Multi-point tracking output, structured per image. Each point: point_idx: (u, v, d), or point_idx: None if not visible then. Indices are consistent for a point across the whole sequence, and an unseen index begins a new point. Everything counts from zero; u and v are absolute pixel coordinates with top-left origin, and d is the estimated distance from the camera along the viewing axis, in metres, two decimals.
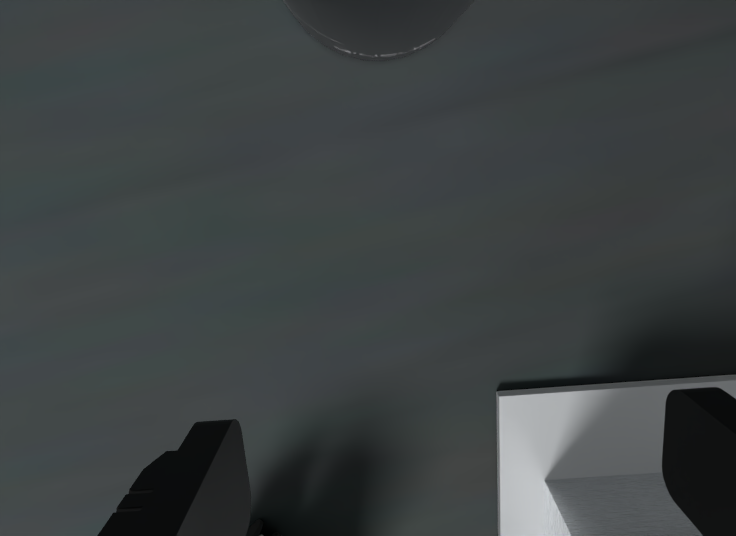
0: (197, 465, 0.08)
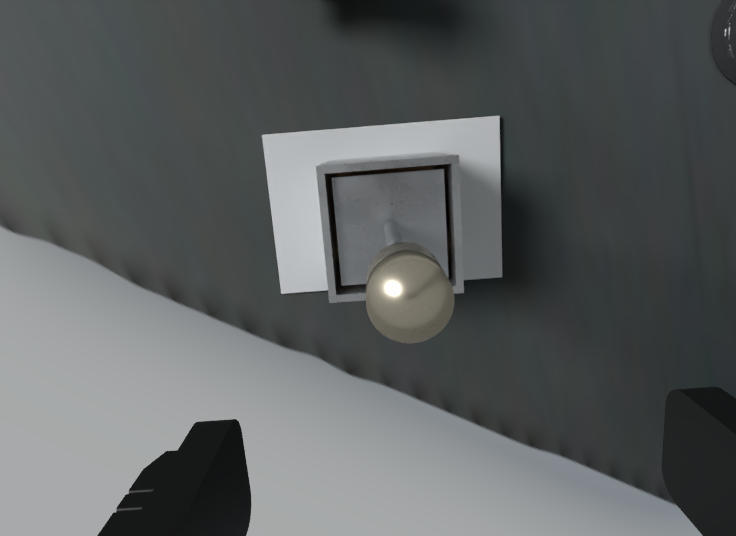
0: (197, 465, 0.08)
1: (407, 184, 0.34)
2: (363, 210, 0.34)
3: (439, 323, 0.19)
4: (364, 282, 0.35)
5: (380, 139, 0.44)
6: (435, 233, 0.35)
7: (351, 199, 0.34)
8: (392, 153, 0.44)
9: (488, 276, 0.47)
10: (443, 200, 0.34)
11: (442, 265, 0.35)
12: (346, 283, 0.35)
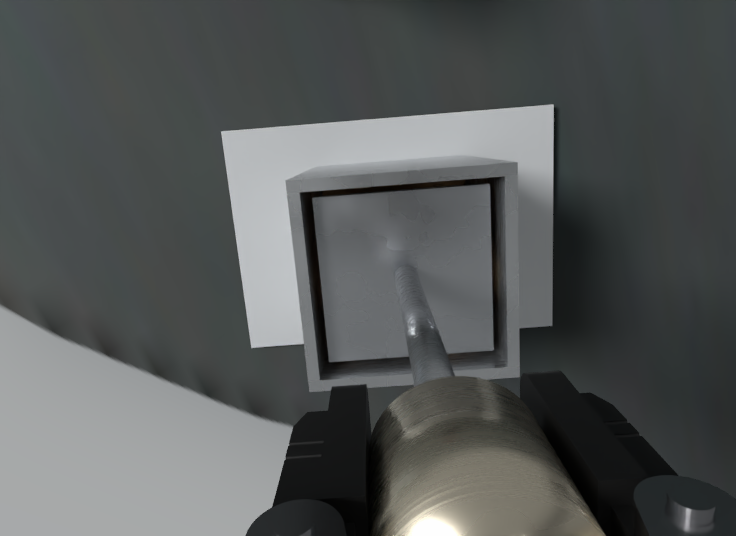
0: (353, 419, 0.09)
1: (431, 208, 0.21)
2: (362, 248, 0.22)
3: None
4: (364, 357, 0.23)
5: (386, 137, 0.31)
6: (474, 283, 0.22)
7: (343, 231, 0.22)
8: (403, 157, 0.32)
9: (533, 324, 0.34)
10: (488, 233, 0.22)
11: (484, 332, 0.23)
12: (336, 359, 0.23)
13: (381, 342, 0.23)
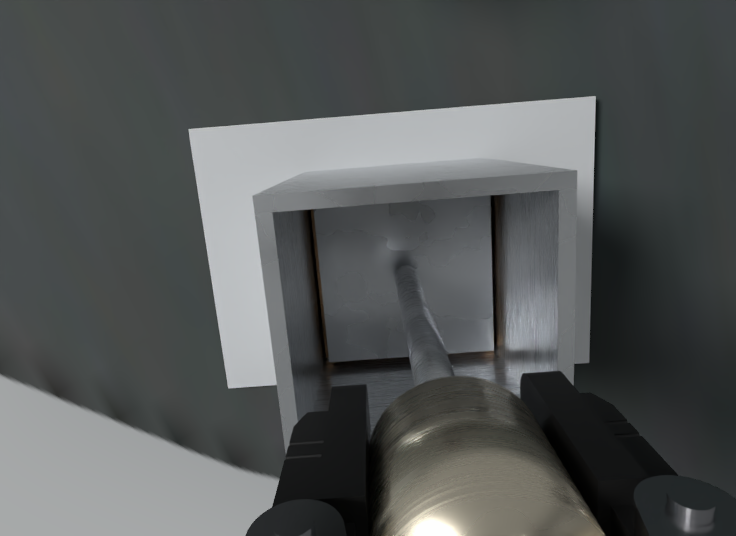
0: (353, 419, 0.09)
1: (431, 208, 0.21)
2: (362, 248, 0.22)
3: None
4: (364, 357, 0.23)
5: (390, 137, 0.26)
6: (474, 283, 0.22)
7: (343, 231, 0.22)
8: (411, 160, 0.26)
9: None
10: (488, 233, 0.22)
11: (484, 332, 0.23)
12: (336, 358, 0.23)
13: (381, 342, 0.23)
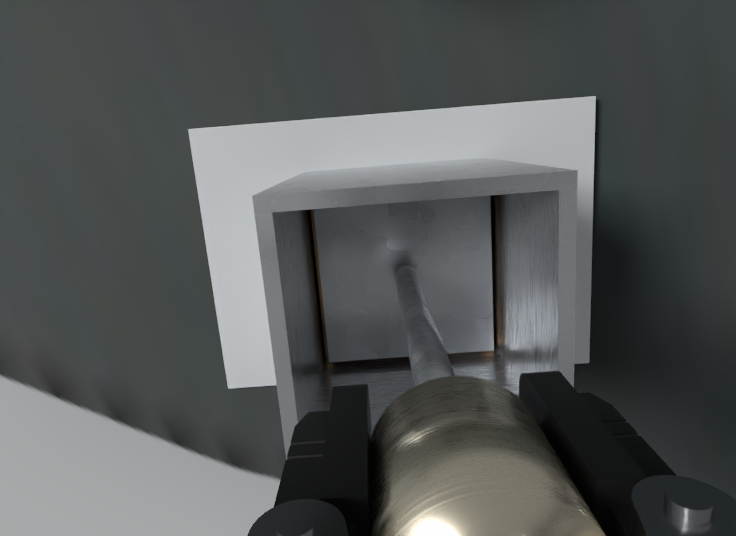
0: (355, 419, 0.09)
1: (431, 208, 0.21)
2: (362, 248, 0.22)
3: None
4: (364, 357, 0.23)
5: (390, 137, 0.26)
6: (474, 283, 0.22)
7: (343, 231, 0.22)
8: (410, 160, 0.26)
9: None
10: (488, 233, 0.22)
11: (484, 332, 0.23)
12: (336, 358, 0.23)
13: (381, 342, 0.23)
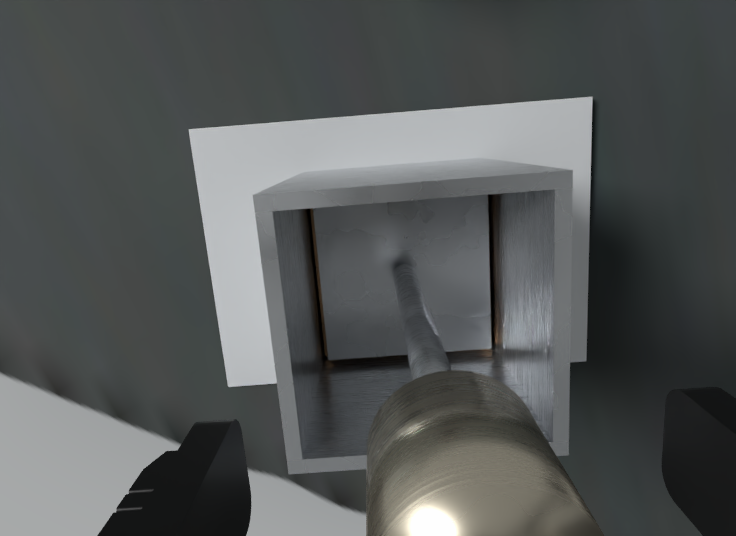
0: (197, 465, 0.08)
1: (430, 207, 0.22)
2: (361, 247, 0.22)
3: None
4: (363, 355, 0.23)
5: (389, 137, 0.26)
6: (472, 281, 0.22)
7: (342, 230, 0.22)
8: (409, 160, 0.26)
9: None
10: (486, 232, 0.22)
11: (482, 330, 0.23)
12: (335, 356, 0.23)
13: (380, 340, 0.23)
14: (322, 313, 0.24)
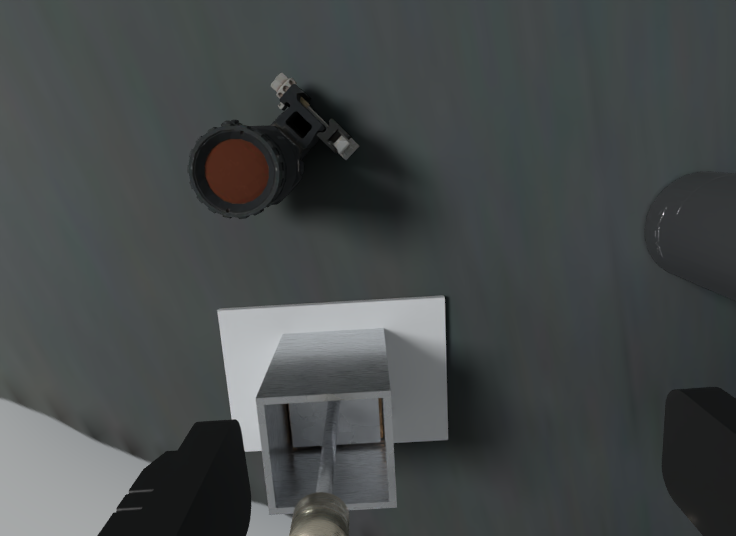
0: (197, 465, 0.08)
1: None
2: None
3: None
4: (311, 445, 0.43)
5: (331, 316, 0.46)
6: (369, 408, 0.42)
7: None
8: (342, 329, 0.46)
9: (435, 439, 0.49)
10: None
11: (375, 432, 0.43)
12: (297, 445, 0.43)
13: (321, 437, 0.43)
14: None
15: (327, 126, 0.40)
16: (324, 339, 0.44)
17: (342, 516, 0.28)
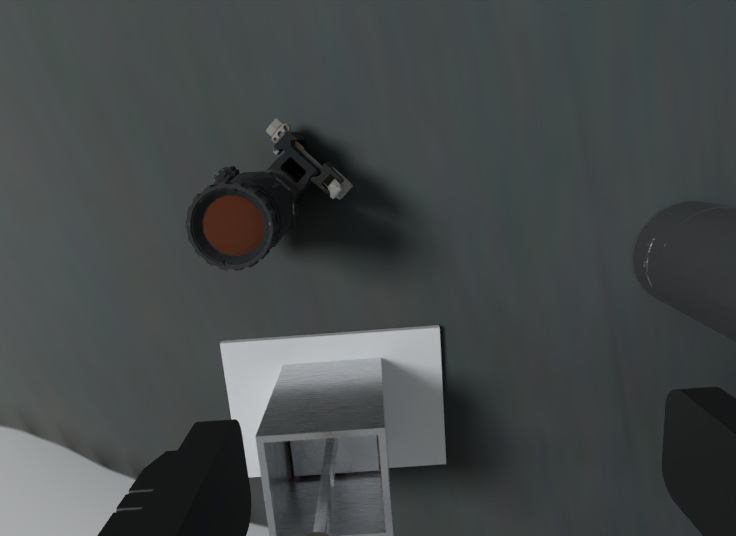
0: (197, 465, 0.08)
1: None
2: None
3: None
4: (312, 473, 0.45)
5: (329, 347, 0.47)
6: (367, 438, 0.44)
7: None
8: (341, 359, 0.47)
9: (433, 463, 0.50)
10: None
11: (374, 461, 0.44)
12: (298, 474, 0.45)
13: (321, 466, 0.44)
14: None
15: (321, 168, 0.41)
16: (323, 370, 0.46)
17: None
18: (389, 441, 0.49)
